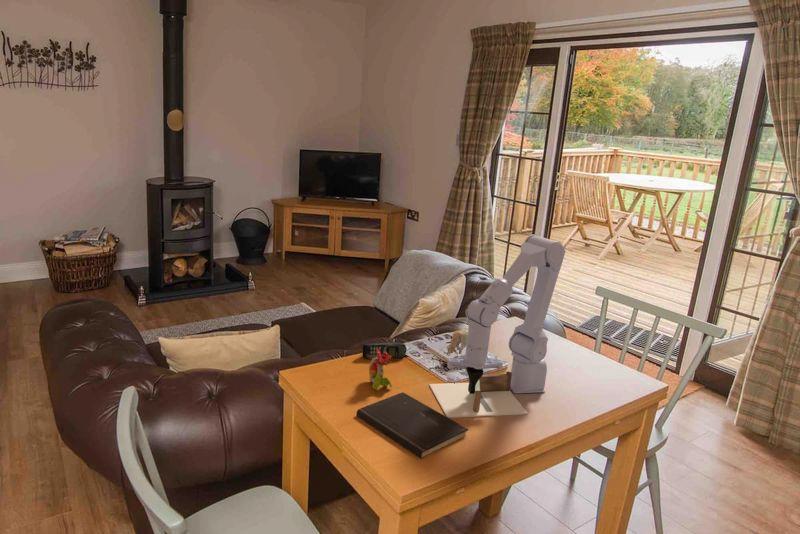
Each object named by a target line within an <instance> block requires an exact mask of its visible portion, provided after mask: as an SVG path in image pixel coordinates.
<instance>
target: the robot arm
mask: <svg viewBox="0 0 800 534" xmlns="http://www.w3.org/2000/svg"><path fill="white" fill-rule="evenodd" d="M565 254H566V250H565V247H564V245H563V244H562V242H561V241H558V240H553V239H550V238H546V237H542V236H539V235H538V234H535V233H534V234H530V235H528V236H527V237H526V238H525V240H524V241H523V243H521V245H520V253H519V254H518V256H517V257H516V259H514V260H513V261H514V262H512V264H511V265H510V267H509V268H508V270H506V272H505V274H504V275H503V277H500V278H496V279H494V280H493V281H492V282H491V283H490V285H489V286H488V287H487V288H486V290H485V291H484V292H483V293H482V294H481V296H480V297H479V298H477V299H474V300H472V301H471V302H470V303H468V306H467V308H466V309H465V316H466V318H467V325H468V328H467V330H468V337H467V345H466V346H465V354H464V356H462V357H458V356H457V357H449V358H447V367H448V369H452V368H465V369H466V373H467V377H468V383H469V386H468V391H469V393H470V394H474V393H475V385H476V384H477V382H478V380H479V379H480V378H481V376H482V375H484V372H485V371H484V370H483V369H498V371H499V370H503V367H504V365H503V364H504V363H503V361H502V360H501V359H494V358H489V357H488V351H489V346H490V345H489V344H490V339H491V338H490V337H491V336H490V335H491V331H492V330H491V329H492V325H494V324H495V322H496V321H497V320H498V317H499V313H500V311H501V307H502V306H503V305H504V304H505V303H506V302H507V301H508V299H509V298H510V297H511V296H512V294H513V286H515V284H517V282H519V280H521V279H522V278H523V276H525V274H526V273H528V271H529V270H530V269H531V268H533V267H536V268H537V271H538V272H537V276H536V279H535V283H534V286H533V289H532V293H531V296H530V300H529V304H528V307H527V310H526V314H525V317H524V319H523V320H524V321H523V323H521V324H519V325H517V326H515V327H514V330H513V333H512V335H511V336H510V337H509V340H508V348H509V351H511V356H512V363H511V370H510V372H511V373H512V377H511V385H510V391H512V392H513V393H514V394H527V393H528V394H532V393H534V394H535V393H545V392H546V390H545V385H546V379H547V373H548V369H547V368H548V367H547V362H546V360H545V357H546V355H547V351H548V347H547V346H548V341H549V338H548V336H547V335H546V333H545V331H544V329H543V328H544V324H545V321H546V318H547V314H548V311H549V307H550V304H551V301H552V297H553V294H554V291H555V287H556V283H557V280H558V277H559V275H560V271H561V267H562V266H563V265H562V264H563V262H564V259H565ZM488 345H489V346H488Z"/></svg>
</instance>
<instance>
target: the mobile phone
mask: <svg viewBox="0 0 800 534" xmlns="http://www.w3.org/2000/svg"><path fill="white" fill-rule="evenodd" d="M377 349H379V352H380V354H381V355H382V354H383V353H384V352H387V354H388V355H390V356H392V357H391V358H390V359H392V360H393V359H400V358H403V357H406V356H405V354H407V346H406V344H405V343H404V342H400V341H397V342H396V341H381V342H380V341H376V342H375V341H374V342H366V343H363V344H362V355H361V356H362V358H363V359H373V358H376V357H377V358H378V355H377V353H376V351H377ZM390 359H389V360H390Z"/></svg>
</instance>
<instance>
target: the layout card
mask: <svg viewBox="0 0 800 534" xmlns="http://www.w3.org/2000/svg"><path fill="white" fill-rule="evenodd" d="M454 383H455V384H454ZM454 383H453V382H450V383H446V382H445V383H429V384H428V385H429V388H430V390H431V391H432V394H433V395H434V397H435V398H436V400H437V403H438V404H439V406H440V408H441V409H442V411H443V413H444V416H446V417H448V418H449V419H458V418H477V417H499V416H516V415H517V416H518V415H528V414H529V413H528V411H527V410H526V409H525V408H524V407H523V406H522V404H521V403H520V401H519V400H517V398H516V397H515V395H513V393H512V392H511V390H510V391H506V390H494V391H481V400H480V408H479V411H478V412H475V411H473V406H474V400H473V394H470V393H469V391H468V386H469V382H454Z"/></svg>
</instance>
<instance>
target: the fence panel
mask: <svg viewBox="0 0 800 534" xmlns="http://www.w3.org/2000/svg"><path fill="white" fill-rule="evenodd" d="M473 400H474V406H473V411H475V412H478V411H479V408H480V400H481V391H480V382H479V380H478V382H477V384H476V385H475V393H474V394H473Z"/></svg>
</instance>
